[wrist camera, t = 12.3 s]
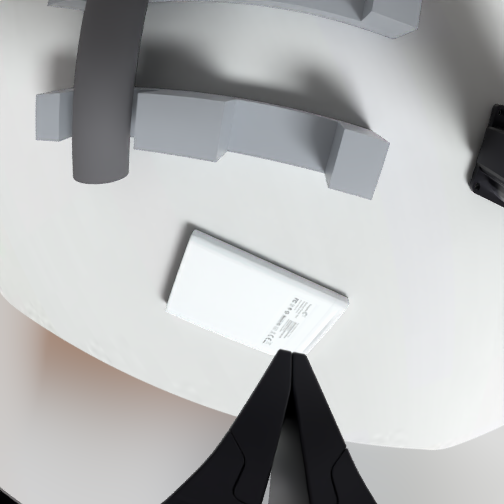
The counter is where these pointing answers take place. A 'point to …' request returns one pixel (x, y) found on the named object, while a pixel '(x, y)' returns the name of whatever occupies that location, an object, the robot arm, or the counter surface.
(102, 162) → the dark grey cylinder
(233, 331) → the external hard drive
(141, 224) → the counter surface
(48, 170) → the counter surface
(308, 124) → the grey blocky pieces
